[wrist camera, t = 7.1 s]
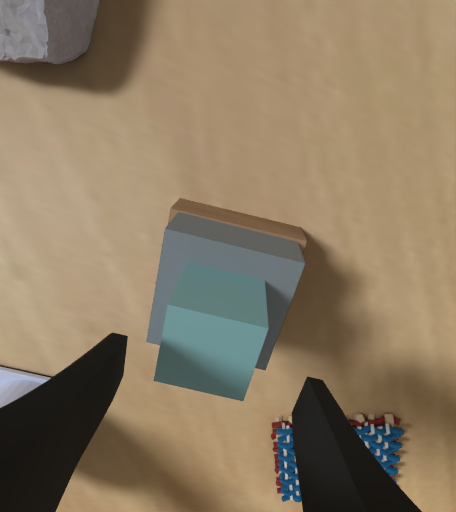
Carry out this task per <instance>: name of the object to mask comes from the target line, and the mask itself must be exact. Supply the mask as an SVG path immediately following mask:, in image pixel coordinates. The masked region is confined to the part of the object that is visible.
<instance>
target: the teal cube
mask: <svg viewBox="0 0 456 512" xmlns="http://www.w3.org/2000/svg"><path fill="white" fill-rule="evenodd" d="M268 329H269V327H268V315H267V302H266V289H265V280H261V279H257V278H253V277H249V276H244V275H240V274H236V273H232V272H228V271H224V270H220V269H215V268H211V267H207V266H203V265H199V264H195V263H191V262H187V263H186V266H185V268H184V270H183V272H182V274H181V277H180V279H179V281H178V283H177V285H176V287H175V290H174V292H173V294H172V296H171V298H170V300H169V303H168V305H167V311H166V316H165V322H164V327H163V333H162V338H161V344H160V349H159V355H158V360H157V366H156V371H155V377H154V381H157V382H162V383H166V384H170V385H175V386H179V387H183V388H188V389H192V390H196V391H201V392H205V393H209V394H214V395H218V396H222V397H227V398H231V399H235V400H240V401H243V400H244V397H245V395H246V392H247V389H248V386H249V383H250V380H251V377H252V375H253V372H254V369H255V366H256V363H257V360H258V357H259V355H260V352H261V349H262V346H263V343H264V340H265V337H266V335H267V332H268Z"/></svg>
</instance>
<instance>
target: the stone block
mask: <svg viewBox="0 0 456 512" xmlns="http://www.w3.org/2000/svg"><path fill="white" fill-rule="evenodd" d="M98 7H99V0H0V61H10V62H16V63H33V62H42V61H43V62H48V63H53V64H63V63H68V62H69V61H72V60H75V59H77V58H78V57H79V55H81V54H84V53H85V52H87V50H88V47H89V44H90V41H91V33H92V30H93V26H94V22H95V20H96V17H97V11H98Z"/></svg>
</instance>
